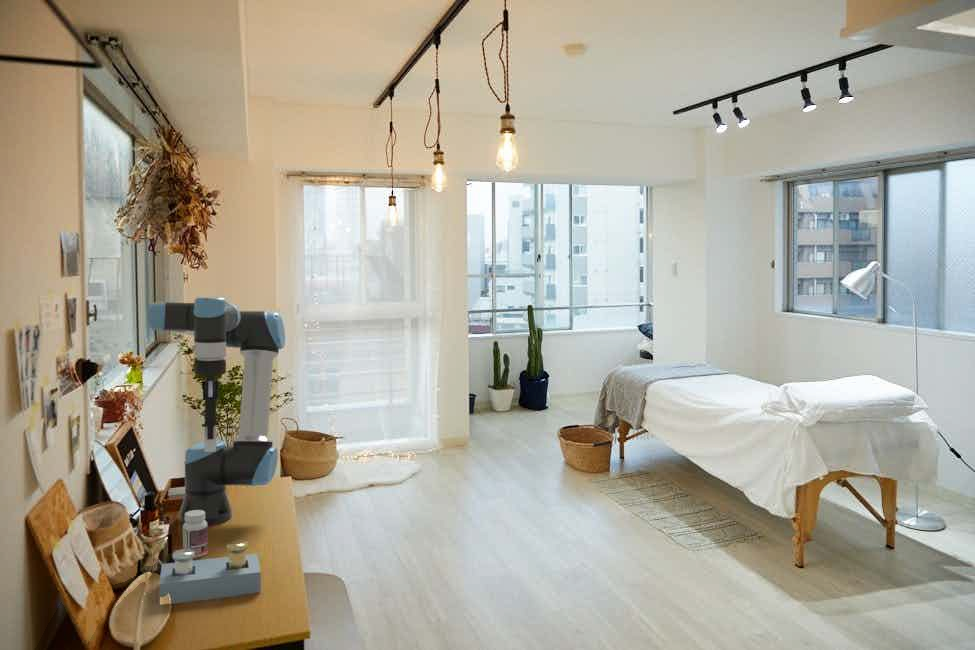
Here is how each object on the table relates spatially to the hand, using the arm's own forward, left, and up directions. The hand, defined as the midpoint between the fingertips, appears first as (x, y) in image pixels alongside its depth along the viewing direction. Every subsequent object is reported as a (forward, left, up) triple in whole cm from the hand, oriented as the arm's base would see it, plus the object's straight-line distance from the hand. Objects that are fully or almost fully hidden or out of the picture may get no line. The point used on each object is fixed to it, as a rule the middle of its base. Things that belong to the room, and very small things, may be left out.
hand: (210, 450), depth 185 cm
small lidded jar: (+13, -6, -29) cm, 33 cm away
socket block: (+13, 0, -30) cm, 33 cm away
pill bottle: (-11, -4, -31) cm, 33 cm away
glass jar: (+13, +6, -29) cm, 32 cm away
